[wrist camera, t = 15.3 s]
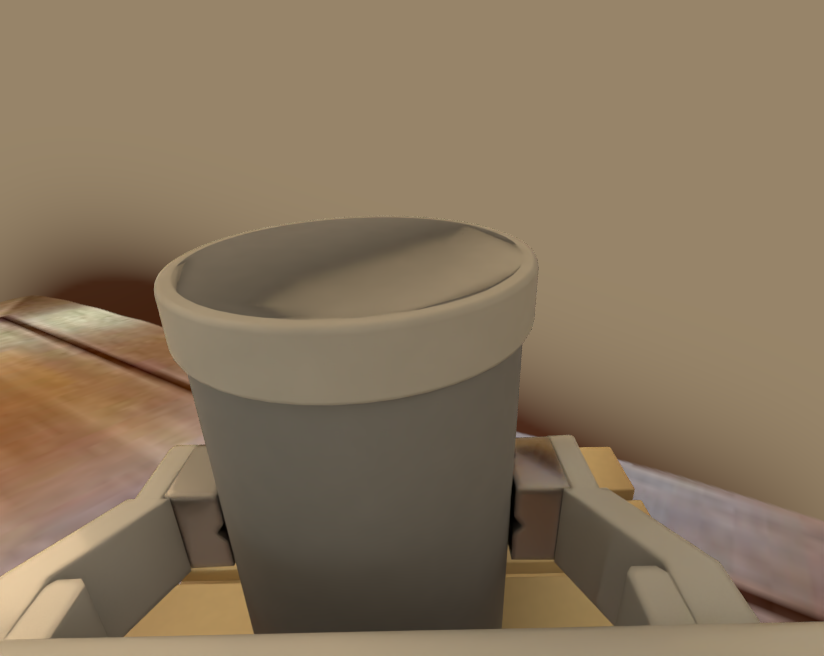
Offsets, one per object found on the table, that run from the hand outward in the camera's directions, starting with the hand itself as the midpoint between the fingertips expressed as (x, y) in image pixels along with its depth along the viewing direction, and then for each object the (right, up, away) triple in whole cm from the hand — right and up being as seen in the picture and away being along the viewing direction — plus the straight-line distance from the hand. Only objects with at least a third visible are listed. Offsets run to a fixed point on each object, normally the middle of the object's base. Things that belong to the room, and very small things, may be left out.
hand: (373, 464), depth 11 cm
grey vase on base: (0, -5, +4) cm, 6 cm away
